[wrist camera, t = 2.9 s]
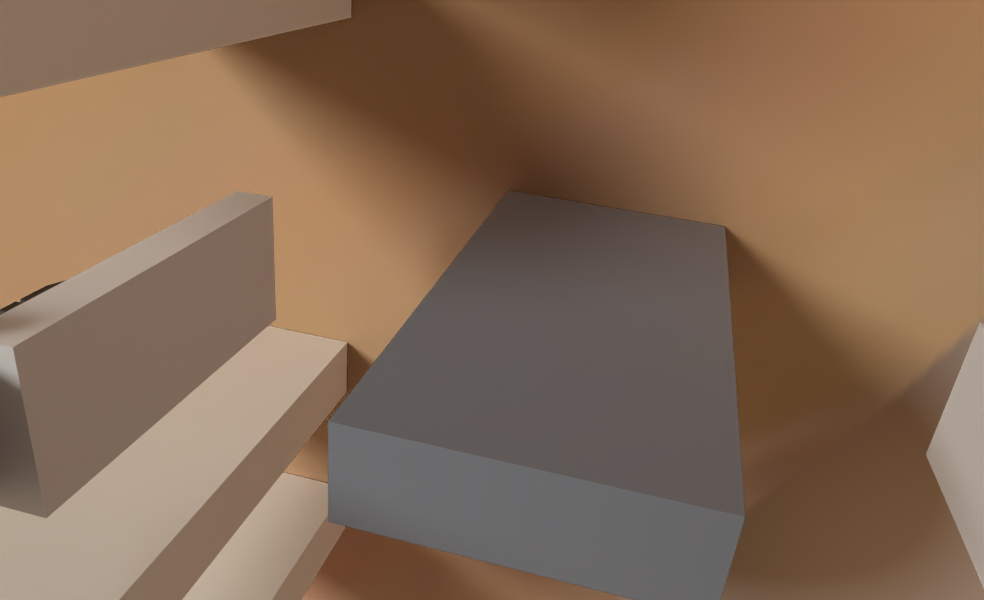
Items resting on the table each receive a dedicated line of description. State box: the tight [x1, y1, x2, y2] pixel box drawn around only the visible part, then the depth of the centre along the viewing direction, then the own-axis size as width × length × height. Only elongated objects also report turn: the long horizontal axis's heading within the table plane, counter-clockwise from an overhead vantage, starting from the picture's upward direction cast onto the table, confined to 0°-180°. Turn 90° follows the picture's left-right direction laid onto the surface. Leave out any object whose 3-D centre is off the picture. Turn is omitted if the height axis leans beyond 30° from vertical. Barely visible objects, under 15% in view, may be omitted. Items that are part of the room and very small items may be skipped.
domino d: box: [0, 326, 347, 600], centre depth 18 cm, size 2×5×10 cm, turn 84°
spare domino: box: [328, 190, 745, 600], centre depth 14 cm, size 2×5×10 cm, turn 84°
